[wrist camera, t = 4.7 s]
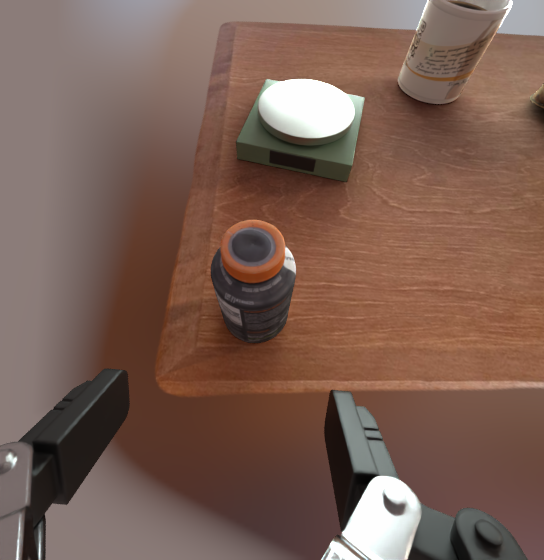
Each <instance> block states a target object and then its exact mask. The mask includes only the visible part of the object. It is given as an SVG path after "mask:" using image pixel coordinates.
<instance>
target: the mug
mask: <svg viewBox="0 0 544 560" xmlns="http://www.w3.org/2000/svg"><path fill="white" fill-rule="evenodd" d="M511 6H512V0H428V2H427V4H426V7H425V9H424V12H423V15H422V17H421V20H420V23H419V25H418V28H417V30H416V33H415V35H414V38H413V41H412V43H411V46H410V48H409V51H408V54H407V56H406V59H405V61H404V64H403V66H402V69H401V72H400V74H399V77H398V84H399V86H400V88H401V89H402V90H403V91H404V92H405V93H406V94H407V95H409V96H411V97H412V98H414V99H417V100H419V101H422V102H426V103H432V104H444V103H449V102H452V101H454V100H455V99H457V98H458V97H459V96H460V94H461V92H462V90H463V89H464V87H465V85H466V84H467V82H468V80H469V78H470V77H471V75H472V73H473V72H474V70H475V68H476V66H477V65H478V63H479V61H480V60H481V58H482V56H483V54H484V53H485V51H486V49H487V48H488V46H489V44H490V42H491V41H492V39H493V37H494V36H495V34H496V32H497V30H498V28H499V27H500V25H501V23H502V22H503V20H504V18H505V17H506V15H507V13H508V12H509V10H510V8H511Z"/></svg>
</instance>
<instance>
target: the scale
mask: <svg viewBox="0 0 544 560" xmlns="http://www.w3.org/2000/svg"><path fill="white" fill-rule="evenodd" d="M364 99H365V97H360V96H354V95H349V94H345V93H343V92H342V91H341V90H339V89H338V88H336V87H334V86H332V85H329V84H327V83H323V82H320V81H315V80H308V79H294V80H287V81H283V82H280V81H274V80H269V79H266V81H265V83H264V85H263V87H262V89H261V91H260V93H259V95H258V97H257V99H256V101H255V104H254V106H253V108H252V110H251V112H250V114H249V116H248V118H247V120H246V122H245V124H244V126H243V128H242V130H241V132H240V134H239V137H238V139H237V141H236V148H237V159H241V160H246V161H250V162H255V163H260V164H264V165H269V166H274V167H279V168H283V169H288V170H293V171H297V172H302V173H307V174H311V175H316V176H321V177H326V178H330V179H335V180H340V181H344V182H347V179H348V176H349V173H350V170H351V167H352V163H353V158H354V153H355V147H356V142H357V137H358V131H359V126H360V121H361V115H362V110H363V105H364Z"/></svg>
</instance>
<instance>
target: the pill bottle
mask: <svg viewBox="0 0 544 560" xmlns="http://www.w3.org/2000/svg"><path fill="white" fill-rule="evenodd" d="M295 277H296V266H295V261H294V258H293V256H292V254H291V252H290V251H289V249H288V248H287V247H286V246H285V241H284V238H283V236H282V234H281V233H280V231H279V230H278V229H277V228H275V227H274V226H273V225H271V224H269V223H267V222H264V221H260V220H246V221H242V222H239V223H237V224H235V225H233V226H232V227H230V228H229V229H228V230H227V231H226V232H225V234H224V235H223V238H222V240H221V244H220V248H219V249H218V250H217V252H216V254H215V255H214V258H213V261H212V264H211V278H212V282H213V285H214V289H215V293H216V296H217V299H218V302H219V306H220V308H221V312H222V315H223V318H224V321H225V324H226V326H227V328H228V330H229V331H230V332H231V333H232V334H233V335H234V336H235V337H237V338H238V339H240V340H242V341H245V342H248V343H261V342H265V341H268V340H270V339H272V338H274V337H275V336H276V335H277V334H278V333H280V331H281V330H282V329H283V327H284V325H285V323H286V320H287V316H288V311H289V306H290V301H291V297H292V292H293V287H294V283H295Z"/></svg>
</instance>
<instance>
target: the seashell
mask: <svg viewBox="0 0 544 560" xmlns="http://www.w3.org/2000/svg"><path fill="white" fill-rule="evenodd" d="M530 100H531V101H532V102H533V103H534V104H536V105H537V106H540V107H542V108H544V83H543V84H542V86H541V87H540V89H539V90H538V91H537V92H536V93H534V94H533V95H531V97H530Z"/></svg>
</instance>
